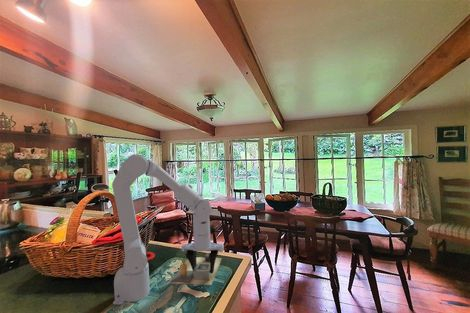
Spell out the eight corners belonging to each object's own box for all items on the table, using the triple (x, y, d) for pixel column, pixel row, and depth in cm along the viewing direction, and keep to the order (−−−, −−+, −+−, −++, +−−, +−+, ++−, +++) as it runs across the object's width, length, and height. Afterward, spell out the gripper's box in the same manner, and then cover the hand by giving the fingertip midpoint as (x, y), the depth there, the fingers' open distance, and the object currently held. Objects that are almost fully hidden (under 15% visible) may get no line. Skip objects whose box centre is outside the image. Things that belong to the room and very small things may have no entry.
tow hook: (147, 252, 100) (127, 260, 92) (147, 224, 100) (127, 229, 92) (158, 257, 95) (139, 266, 87) (158, 227, 95) (138, 233, 87)
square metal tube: (193, 279, 74) (193, 271, 74) (198, 270, 80) (197, 262, 80) (209, 280, 74) (209, 271, 74) (213, 271, 79) (213, 263, 79)
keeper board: (170, 286, 73) (169, 276, 73) (188, 259, 91) (188, 251, 91) (211, 287, 71) (211, 277, 71) (222, 260, 89) (221, 252, 89)
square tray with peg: (171, 281, 74) (170, 267, 74) (178, 271, 80) (177, 258, 80) (189, 282, 73) (188, 268, 73) (195, 271, 79) (194, 259, 79)
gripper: (224, 228, 79) (226, 266, 80) (185, 228, 81) (187, 264, 82) (220, 236, 72) (222, 277, 73) (178, 235, 74) (180, 275, 75)
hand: (203, 271), depth 77 cm, fingers closed on square metal tube, 6 cm apart
